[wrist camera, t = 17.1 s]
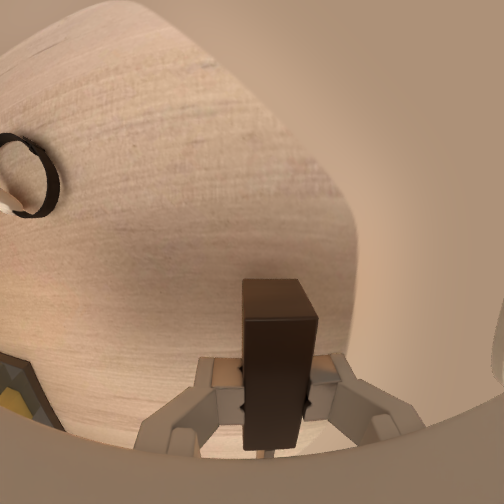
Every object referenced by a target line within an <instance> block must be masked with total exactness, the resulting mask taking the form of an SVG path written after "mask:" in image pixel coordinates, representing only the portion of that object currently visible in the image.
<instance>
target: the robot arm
mask: <svg viewBox="0 0 504 504" xmlns="http://www.w3.org/2000/svg"><path fill="white" fill-rule="evenodd" d="M306 393H307V394H306V399H305V402H304V407H303V412H302V416H303V419H304V421H316V420H326V419H328V421H329V422H330V423H332V424H333V425H334V426H335V427H336V428H337V429H338V430H340V431H341V432H342V433H343V434H344V435H346V436H347V437H348V438H349V439H350V440H352V441H353V442H354V443H355V444H356V445H358V446H357V447H353V448H347V449H342V450H336V451H331V452H324V453H317V454H309V455H301V456H291V457H278V458H259V459H217V458H201V454H200V448H201V447H202V446H203V445H204V444H205V443H206V441H207V440H208V439H209V438H210V437H211V436H212V434H213V433H214V432H215V431H216V430H217V428H218V427H219V425H244V379H243V358H218V357H215V358H214V357H200V358H199V360H198V365H197V370H196V376H195V381H194V386H193V387H188V388H187V389H186V390H184V391H183V392H182V393H180V394H179V395H178V396H176V397H175V398H174V399H173V400H171V401H170V402H169V403H167V404H166V405H165V406H163V407H162V408H160V409H159V410H158V411H156V412H155V413H154V414H152V415H151V416H150V417H148V418H147V419H145V420H144V421H143V422H142V423H141V426H140V429H139V432H138V435H137V438H136V442H135V445H134V448H133V449H129V448H124V447H119V446H114V445H110V444H106V443H102V442H98V441H94V440H90V439H87V438H83V437H80V436H76V435H73V434H70V433H67V432H64V431H61V430H58V429H55V428H52V427H49V426H47V425H44V424H41V423H39V422H36V421H34V420H31V419H29V418H26V417H24V416H22V415H19V414H17V413H15V412H13V411H11V410H9V409H6V408H4V407H2V406H0V504H504V393H502V394H500V395H498V396H496V397H494V398H493V399H491V400H489V401H487V402H485V403H483V404H481V405H479V406H476V407H474V408H472V409H470V410H468V411H466V412H463V413H461V414H459V415H457V416H454V417H452V418H449V419H447V420H444V421H442V422H439V423H437V424H434V425H431V426H428V427H426V426H425V425H424V423H423V422H422V420H421V418H420V417H419V415H418V414H417V412H416V411H415V409H414V408H413V406H412V405H410V404H408V403H406V402H404V401H402V400H400V399H398V398H396V397H394V396H392V395H390V394H388V393H386V392H384V391H382V390H380V389H378V388H377V387H375V386H373V385H371V384H369V383H367V382H365V381H364V380H362V379H358V380H357V378H356V377H355V375H354V373H353V371H352V369H351V367H350V365H349V364H348V362H347V360H346V358H345V356H344V354H343V353H333V354H328V355H316V356H313V360H312V366H311V372H310V377H309V379H308V385H307V390H306Z"/></svg>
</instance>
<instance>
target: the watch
mask: <svg viewBox="0 0 504 504" xmlns="http://www.w3.org/2000/svg"><path fill="white" fill-rule="evenodd" d="M23 139H24V140H23ZM23 139H21V138H20V137H18V136H16V135H14V134H11V133H1V134H0V147H1V146H3V145H4V144H6V143H8V142H11V141H21V142H23V143H24V144H25V145H26V146H27V147H28V148H29V150H30V151H31V152H32V153H33V154H35V155H37V156H39V158H40V160H41V162H42V164H43V166H44V168H45V171H46V176H47V192H46V197H45V200H44V203H43V205H42V207H41V208H40V210H39V211H37V212H36V213H35V214H33V215H32V214H29V213H27V212H26V211H24V210H23V205H22V204H21V203H20V202H19V201H18V200H17V199H16V198H15V197H13V196H12V195H11V194H9V193H8V192H6V191H4V190H3V189H1V188H0V211H2V212H4V213H6V214H10V215H14V216H19V217H21V218H42V217H45V216H47V215H48V214H49V213H51V212H52V211H53V209H54V208H55V206H56V204H57V202H58V198H59V193H60V181H59V175H58V173H57V170H56V168H55V166H54V164H53V163H52V161H51V160H50V158H49V157H48V155H47V154H46V153H45V150H44V149H42V148H40V147H39V146H38V145H37V144H36V143H34V142H33V141H31V140H29V139H28V138H26V137H24V136H23ZM25 140H26V141H25Z"/></svg>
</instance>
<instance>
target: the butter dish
mask: <svg viewBox="0 0 504 504" xmlns="http://www.w3.org/2000/svg"><path fill="white" fill-rule="evenodd" d="M7 387H9V388H11V389H13V390H15V391H18V392H20V394H21V396H22V398H23V400H24V402H25V403H26V405H27V407H28V409H29V411H30V412H31V414H32V416H33V418H32V420H34V421H36V422H39V423H41V424H44V425H47V426H49V427H52V428H55V429H58V430H61V431H64V432H65V430H64V429H63V427H62V425H61V424H60V422H59V420H58V419H57V417H56V415H55V413H54V412H53V410H52V408H51V406H50V404H49V402H48V400H47V398H46V397H45V395H44V393H43V391H42V389H41V386H40V384H39V382H38V380H37V378H36V376H35V374H34V371H33V369H32V367H31V364H30V362H27V361H23V360H20V359H17V358H14V357H11V356H8V355H5V354H2V353H0V395H1V394H2V392H3V391H4V390H5V389H6V388H7Z"/></svg>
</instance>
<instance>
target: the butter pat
mask: <svg viewBox="0 0 504 504" xmlns="http://www.w3.org/2000/svg"><path fill="white" fill-rule="evenodd" d="M0 406H2V407H4V408H6V409H9V410H11V411H13V412H15V413H17V414H19V415H22V416H24V417H26V418H29V419H31V420H32V418H33V416H32V414H31V412H30V411H29V409H28V407H27V405H26V403H25V402H24V400H23V398H22V396H21V394H20V392H18V391H15V390H13V389H11V388H9V387H7V388H6V389H5V390H4V391H3V392H2V394H1V395H0Z"/></svg>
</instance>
